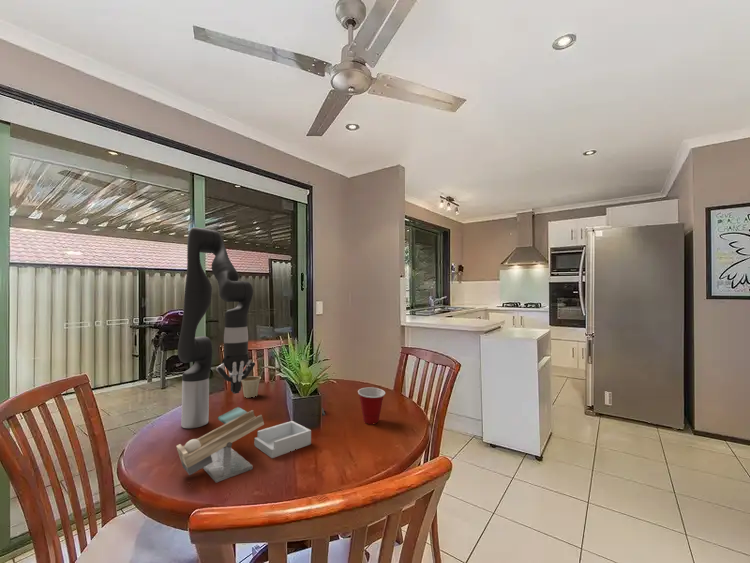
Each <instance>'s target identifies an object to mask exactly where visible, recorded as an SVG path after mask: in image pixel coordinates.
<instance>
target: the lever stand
mask: <svg viewBox="0 0 750 563" xmlns="http://www.w3.org/2000/svg"><path fill="white" fill-rule="evenodd" d="M211 458H212V461H213V462H212V463H210V464H208V465H207V466H205V467H203V468H202V469H203V470H204V472H206V473H207V474H208V476H209V477H210V478H211V479H212V480H213V481H214V483H215V484H216V483H219V482H221V481H225V480H226V479H230V478H232V477H235V476H238V475H240V474H243V473H247V472H248V471H251V470H253V464H252V463H250V462H249V461H248V460H246V459H245V458H244V457H243V456H242V455H241V454H239V453H238V451H236V450H234V449H233V448H232V446H231V447H230V448H228V447H227V446H226V447H224V448H222V449H220V450H219V451H217V452H215V453H213V454H212V455H211Z"/></svg>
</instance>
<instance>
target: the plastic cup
mask: <svg viewBox="0 0 750 563" xmlns="http://www.w3.org/2000/svg"><path fill="white" fill-rule="evenodd" d="M357 394H358V396H359V400H360V407H361V412H362V418H363V422H365V423H364V424H366V423H368V424H367V425H374V424H373V423H377V422H378V421H380V415H381V412H382V407H383V406H382V405H383V401H384V398H385V395H386V391H385V390H383V389H381V388H378V387H373V386H372V387H371V386H370V387H362V388H359V389H358V390H357ZM378 423H379V422H378ZM378 423H377V424H378Z"/></svg>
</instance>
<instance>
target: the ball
mask: <svg viewBox="0 0 750 563" xmlns="http://www.w3.org/2000/svg"><path fill="white" fill-rule="evenodd" d="M197 439H198V438H192V439H190V440H188V441H187V442H186V443H185V444H184V445H185V447H184V449H185V450H186V451H187V452H188V454H189V453H191V452H193V451H195V450H197V449H198V448H200V447H201V443H200V441H199V440H197Z"/></svg>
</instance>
